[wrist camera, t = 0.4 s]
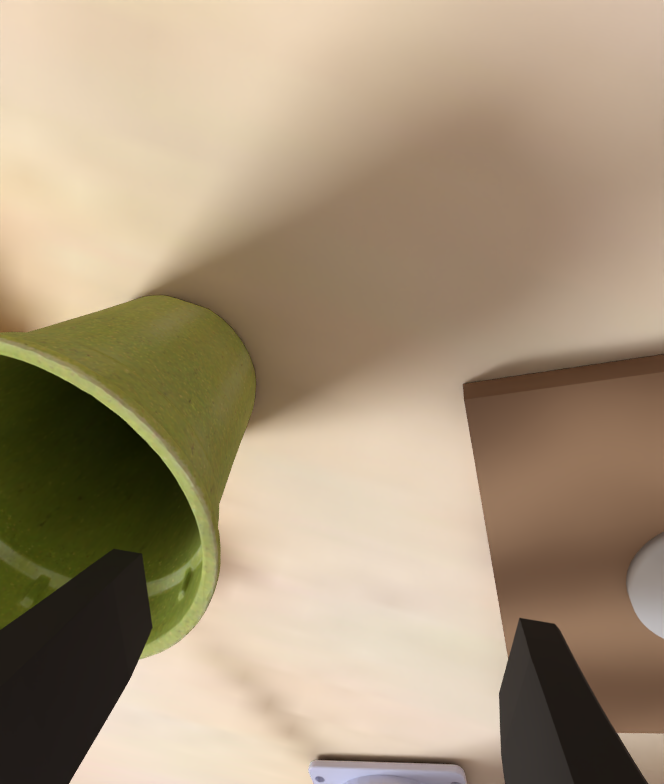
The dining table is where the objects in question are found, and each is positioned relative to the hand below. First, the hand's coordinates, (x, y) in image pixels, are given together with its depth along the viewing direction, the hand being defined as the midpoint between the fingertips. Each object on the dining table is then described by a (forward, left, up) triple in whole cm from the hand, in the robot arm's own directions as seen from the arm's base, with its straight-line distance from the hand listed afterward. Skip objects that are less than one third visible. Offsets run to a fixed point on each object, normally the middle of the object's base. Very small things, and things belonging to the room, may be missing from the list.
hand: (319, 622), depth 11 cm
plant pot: (+2, +7, -10) cm, 13 cm away
